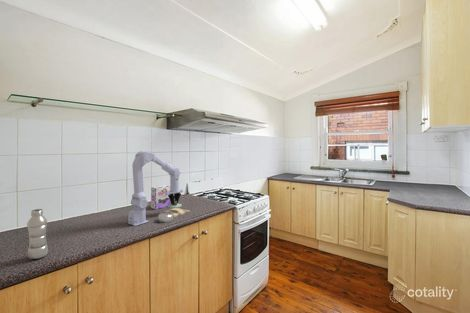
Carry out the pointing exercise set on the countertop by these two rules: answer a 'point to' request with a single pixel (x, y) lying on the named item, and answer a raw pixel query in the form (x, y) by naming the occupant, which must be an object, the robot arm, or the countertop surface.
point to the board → (176, 211)
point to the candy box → (159, 197)
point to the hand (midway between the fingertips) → (174, 203)
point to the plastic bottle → (37, 235)
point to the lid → (175, 205)
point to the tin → (165, 217)
